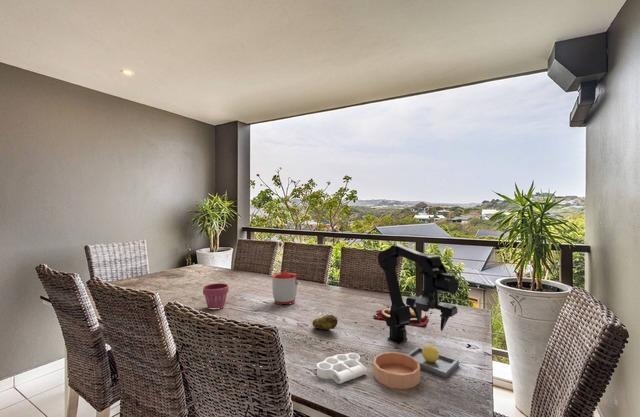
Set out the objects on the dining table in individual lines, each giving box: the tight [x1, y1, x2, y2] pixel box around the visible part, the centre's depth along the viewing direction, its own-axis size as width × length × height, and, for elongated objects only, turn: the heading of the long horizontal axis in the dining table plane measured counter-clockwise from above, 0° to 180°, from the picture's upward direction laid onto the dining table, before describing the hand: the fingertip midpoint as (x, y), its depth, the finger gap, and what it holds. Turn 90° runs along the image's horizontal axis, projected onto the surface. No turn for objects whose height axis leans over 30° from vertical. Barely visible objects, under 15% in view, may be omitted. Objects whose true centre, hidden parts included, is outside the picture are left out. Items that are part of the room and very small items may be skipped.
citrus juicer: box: [271, 269, 301, 305], centre depth 190 cm, size 16×17×20 cm
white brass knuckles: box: [316, 352, 368, 384], centre depth 110 cm, size 3×18×15 cm
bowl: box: [372, 351, 421, 390], centre depth 107 cm, size 16×16×4 cm
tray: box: [406, 346, 460, 379], centre depth 115 cm, size 16×12×2 cm
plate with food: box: [372, 306, 433, 327], centre depth 166 cm, size 25×26×4 cm
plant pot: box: [202, 282, 230, 309], centre depth 181 cm, size 14×14×13 cm
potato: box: [312, 314, 338, 331], centre depth 147 cm, size 8×13×8 cm, turn 36°
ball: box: [422, 344, 440, 363], centre depth 115 cm, size 6×6×6 cm
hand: (430, 327), depth 120 cm, fingers open, 9 cm apart
